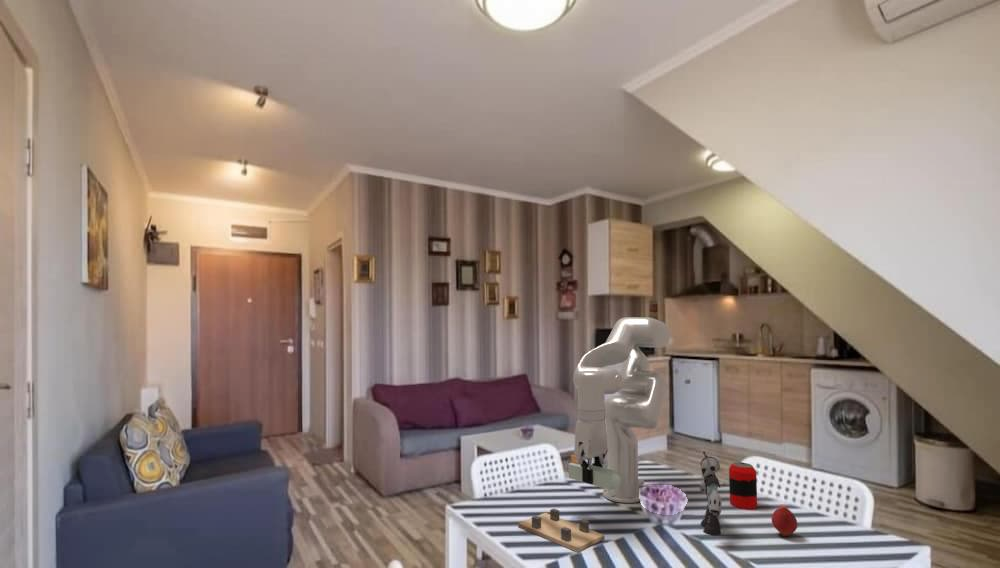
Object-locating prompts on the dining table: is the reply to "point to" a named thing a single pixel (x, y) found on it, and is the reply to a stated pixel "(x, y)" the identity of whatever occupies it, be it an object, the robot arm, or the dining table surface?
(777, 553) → the dining table surface
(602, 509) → the dining table surface
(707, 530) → the robot
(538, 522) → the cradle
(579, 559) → the dining table surface
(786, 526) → the onion
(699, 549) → the dining table surface
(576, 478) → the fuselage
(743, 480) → the soda can
